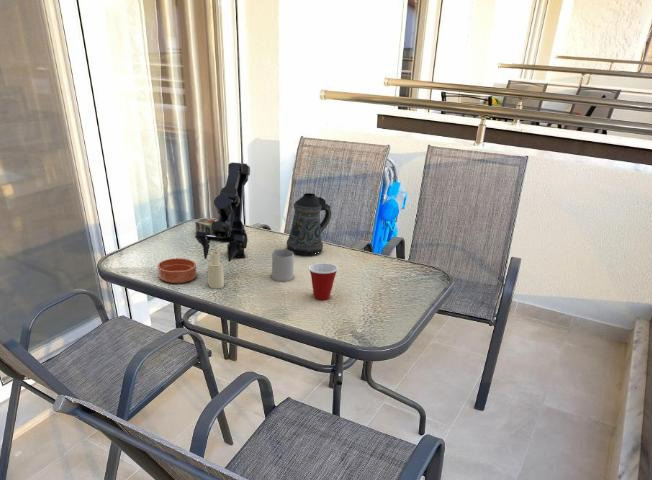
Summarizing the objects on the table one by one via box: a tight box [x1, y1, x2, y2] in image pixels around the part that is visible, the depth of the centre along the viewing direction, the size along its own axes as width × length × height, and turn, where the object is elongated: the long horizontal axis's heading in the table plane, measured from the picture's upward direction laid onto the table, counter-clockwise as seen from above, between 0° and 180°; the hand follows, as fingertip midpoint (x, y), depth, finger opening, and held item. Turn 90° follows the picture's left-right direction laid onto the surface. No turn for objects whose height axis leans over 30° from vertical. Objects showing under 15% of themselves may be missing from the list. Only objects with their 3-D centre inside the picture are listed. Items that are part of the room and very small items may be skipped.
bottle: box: [207, 250, 225, 290], centre depth 188 cm, size 6×6×13 cm
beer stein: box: [286, 192, 332, 257], centre depth 225 cm, size 16×19×25 cm
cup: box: [271, 249, 295, 282], centre depth 200 cm, size 8×8×10 cm
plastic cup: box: [308, 262, 339, 301], centre depth 186 cm, size 11×11×12 cm
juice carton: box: [194, 217, 218, 236], centre depth 239 cm, size 20×10×6 cm, turn 54°
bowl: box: [157, 257, 198, 284], centre depth 195 cm, size 14×14×5 cm
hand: (217, 260), depth 189 cm, fingers open, 9 cm apart
